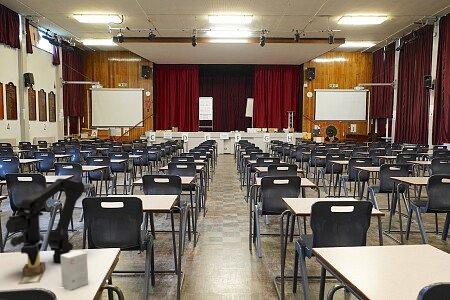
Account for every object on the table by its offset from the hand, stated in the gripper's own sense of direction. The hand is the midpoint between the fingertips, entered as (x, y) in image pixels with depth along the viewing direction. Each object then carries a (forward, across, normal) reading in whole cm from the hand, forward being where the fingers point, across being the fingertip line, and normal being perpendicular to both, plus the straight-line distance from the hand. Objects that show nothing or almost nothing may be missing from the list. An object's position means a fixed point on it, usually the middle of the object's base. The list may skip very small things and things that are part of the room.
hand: (34, 263), depth 176 cm
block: (+4, 0, 0) cm, 4 cm away
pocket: (+5, 0, 0) cm, 5 cm away
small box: (+5, +18, +18) cm, 26 cm away
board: (+5, +4, 0) cm, 7 cm away
